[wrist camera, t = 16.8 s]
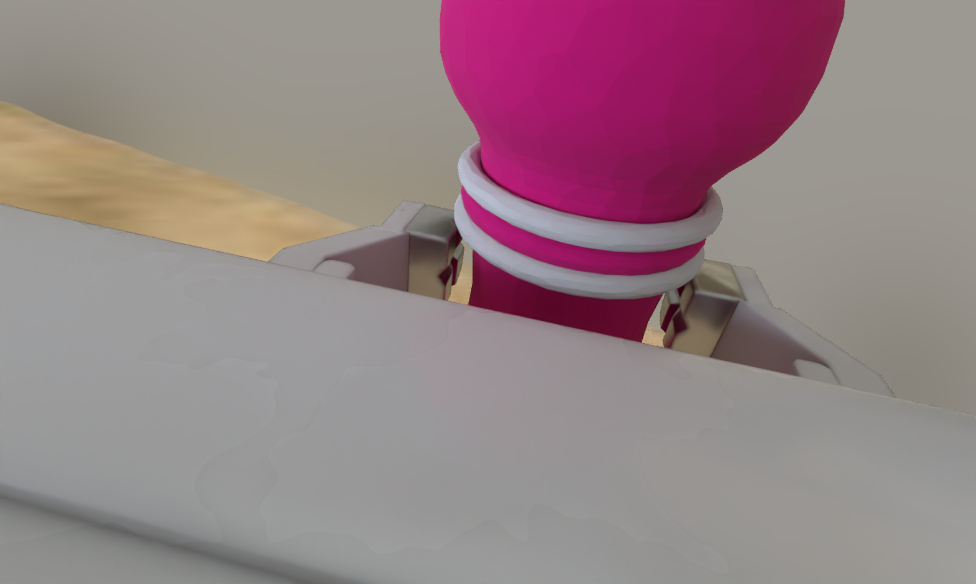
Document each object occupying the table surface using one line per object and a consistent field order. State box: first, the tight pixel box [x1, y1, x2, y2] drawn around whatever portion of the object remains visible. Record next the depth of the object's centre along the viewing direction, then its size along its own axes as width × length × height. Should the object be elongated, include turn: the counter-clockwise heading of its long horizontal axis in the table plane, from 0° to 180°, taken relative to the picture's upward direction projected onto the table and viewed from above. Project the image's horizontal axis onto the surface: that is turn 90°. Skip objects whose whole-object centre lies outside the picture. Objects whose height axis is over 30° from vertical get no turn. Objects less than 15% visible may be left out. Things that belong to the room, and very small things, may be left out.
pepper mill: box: [440, 0, 845, 343], centre depth 11 cm, size 7×7×20 cm
